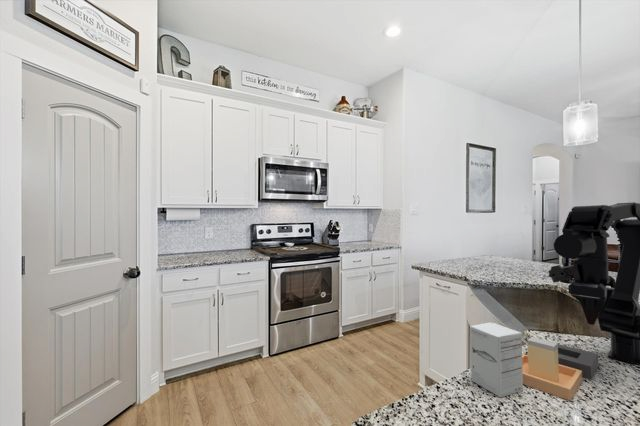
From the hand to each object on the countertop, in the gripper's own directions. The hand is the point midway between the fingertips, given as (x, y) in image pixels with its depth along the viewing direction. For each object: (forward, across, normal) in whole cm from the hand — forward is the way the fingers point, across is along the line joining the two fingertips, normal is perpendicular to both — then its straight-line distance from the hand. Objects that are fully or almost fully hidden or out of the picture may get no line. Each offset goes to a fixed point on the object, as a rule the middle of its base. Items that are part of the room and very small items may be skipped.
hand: (594, 320), depth 72 cm
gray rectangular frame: (+12, +2, -6) cm, 14 cm away
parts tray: (+12, +15, -7) cm, 20 cm away
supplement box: (+12, +26, -13) cm, 32 cm away
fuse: (+11, +15, -7) cm, 20 cm away
